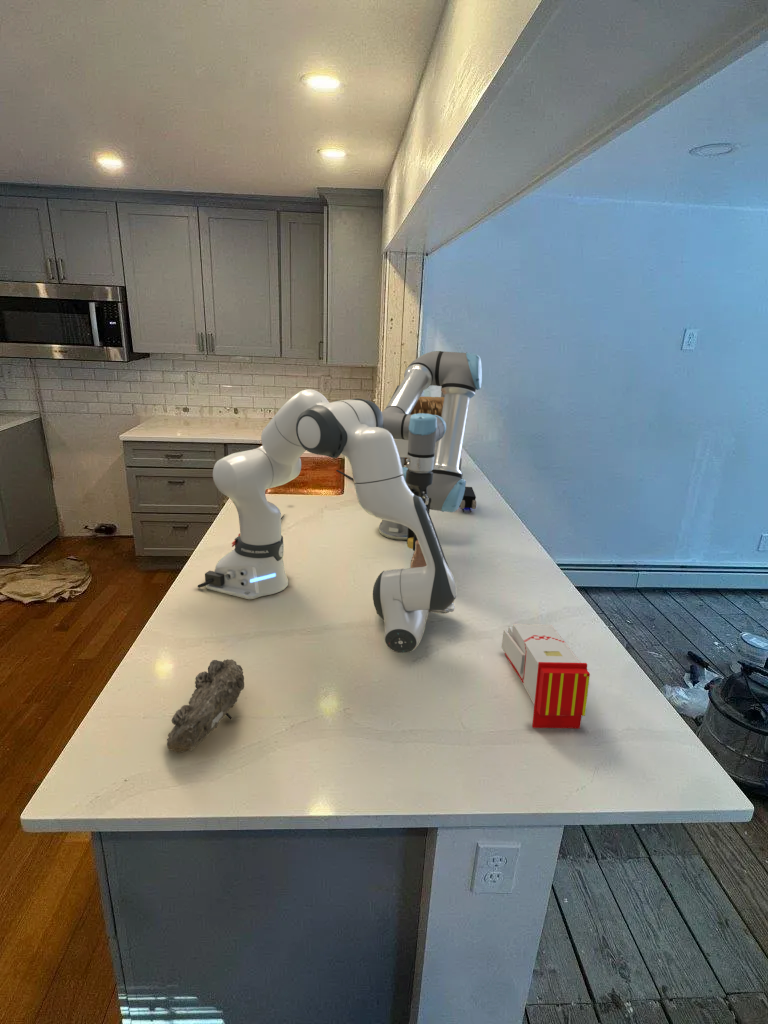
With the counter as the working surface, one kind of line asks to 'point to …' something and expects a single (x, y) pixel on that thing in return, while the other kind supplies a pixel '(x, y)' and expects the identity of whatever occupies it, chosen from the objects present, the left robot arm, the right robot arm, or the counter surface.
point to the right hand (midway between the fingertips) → (414, 546)
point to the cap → (410, 542)
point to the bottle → (417, 557)
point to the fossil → (206, 705)
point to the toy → (548, 674)
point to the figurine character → (468, 500)
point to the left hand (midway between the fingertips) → (418, 582)
